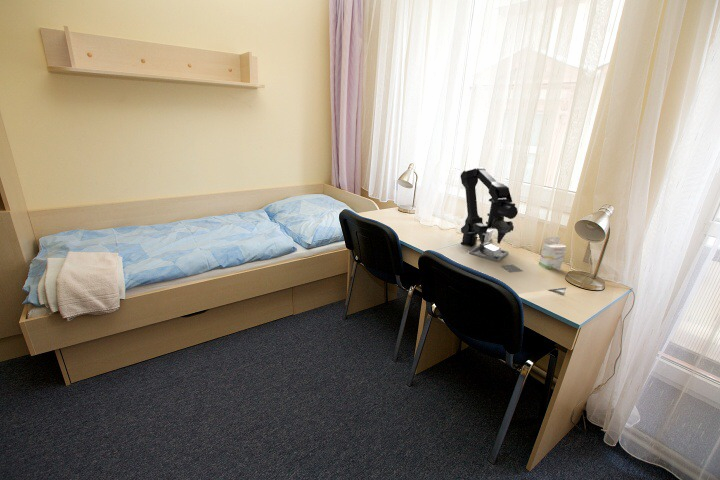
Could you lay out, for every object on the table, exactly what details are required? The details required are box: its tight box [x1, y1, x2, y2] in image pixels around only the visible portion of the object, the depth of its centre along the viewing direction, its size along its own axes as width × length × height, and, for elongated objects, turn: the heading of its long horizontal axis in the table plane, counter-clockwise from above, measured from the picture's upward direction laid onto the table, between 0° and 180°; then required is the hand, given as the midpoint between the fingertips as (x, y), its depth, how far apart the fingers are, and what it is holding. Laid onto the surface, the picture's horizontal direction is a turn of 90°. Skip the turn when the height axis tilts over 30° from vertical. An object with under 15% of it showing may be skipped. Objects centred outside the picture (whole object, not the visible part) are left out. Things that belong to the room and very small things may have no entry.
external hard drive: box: [547, 287, 567, 296], centre depth 137 cm, size 2×8×12 cm
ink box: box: [538, 236, 568, 271], centre depth 151 cm, size 9×5×15 cm, turn 105°
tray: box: [468, 244, 509, 263], centre depth 164 cm, size 14×14×2 cm
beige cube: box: [484, 229, 494, 243], centre depth 187 cm, size 6×6×6 cm
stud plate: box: [500, 264, 524, 273], centre depth 149 cm, size 7×7×2 cm
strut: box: [479, 241, 502, 259], centre depth 162 cm, size 5×5×10 cm
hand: (490, 243), depth 163 cm, fingers open, 9 cm apart
